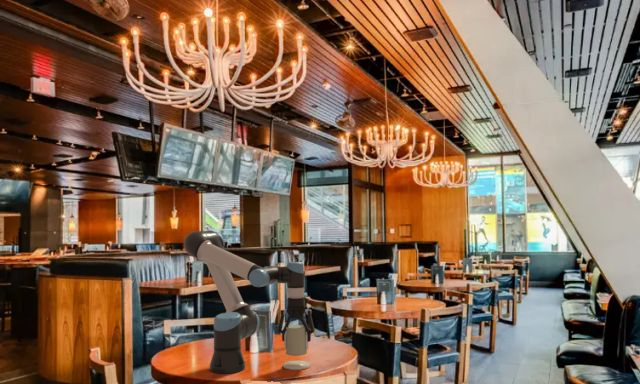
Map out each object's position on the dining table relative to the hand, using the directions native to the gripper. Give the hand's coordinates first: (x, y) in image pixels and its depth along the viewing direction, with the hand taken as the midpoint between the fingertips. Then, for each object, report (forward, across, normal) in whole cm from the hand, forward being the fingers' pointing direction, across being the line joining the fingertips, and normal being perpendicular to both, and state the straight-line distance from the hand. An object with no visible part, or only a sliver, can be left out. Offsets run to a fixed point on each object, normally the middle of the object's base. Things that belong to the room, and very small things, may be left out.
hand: (296, 348), depth 226 cm
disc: (+8, 0, 0) cm, 8 cm away
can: (+2, 0, 0) cm, 2 cm away
